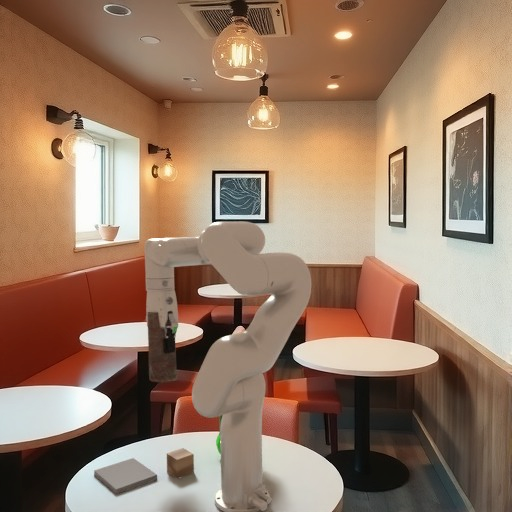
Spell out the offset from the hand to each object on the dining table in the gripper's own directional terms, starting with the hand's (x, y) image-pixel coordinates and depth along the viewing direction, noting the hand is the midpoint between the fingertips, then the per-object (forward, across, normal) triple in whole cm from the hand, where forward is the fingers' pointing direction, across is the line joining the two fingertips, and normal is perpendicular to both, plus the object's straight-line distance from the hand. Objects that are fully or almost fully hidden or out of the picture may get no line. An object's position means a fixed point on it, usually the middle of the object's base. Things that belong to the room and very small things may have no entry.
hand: (162, 349), depth 141 cm
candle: (+9, 0, 0) cm, 9 cm away
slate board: (+31, -2, +12) cm, 33 cm away
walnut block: (+31, -8, 0) cm, 32 cm away
